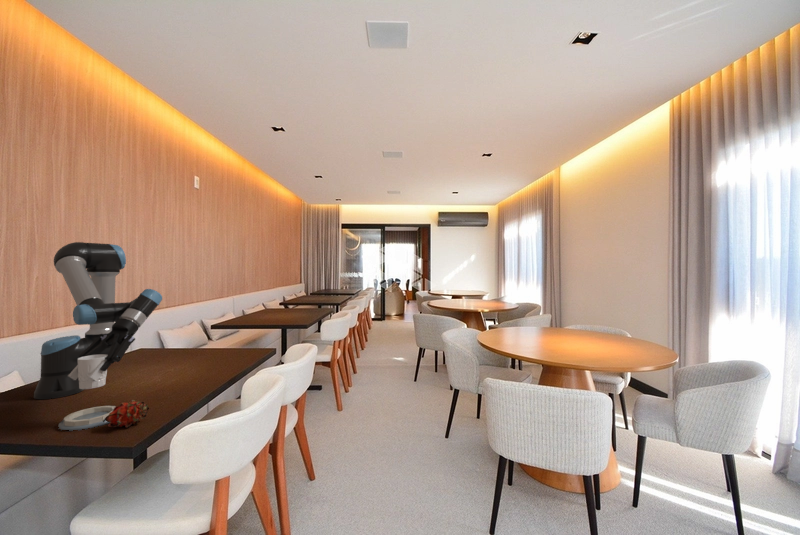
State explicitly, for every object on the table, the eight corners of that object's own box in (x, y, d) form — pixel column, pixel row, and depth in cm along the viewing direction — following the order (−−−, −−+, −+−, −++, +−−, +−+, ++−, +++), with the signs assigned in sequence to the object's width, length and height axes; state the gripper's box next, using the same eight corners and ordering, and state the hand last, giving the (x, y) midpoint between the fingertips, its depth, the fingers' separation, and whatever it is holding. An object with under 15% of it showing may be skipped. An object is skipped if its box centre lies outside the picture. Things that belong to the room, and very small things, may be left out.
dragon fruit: (152, 424, 117) (106, 441, 108) (146, 405, 121) (102, 420, 113) (151, 409, 113) (104, 426, 104) (145, 390, 117) (99, 404, 109)
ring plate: (44, 429, 110) (44, 421, 110) (96, 410, 126) (96, 403, 126) (85, 432, 107) (85, 424, 107) (133, 412, 123) (133, 405, 123)
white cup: (89, 390, 112) (89, 360, 113) (70, 389, 114) (71, 359, 114) (113, 383, 120) (114, 354, 120) (95, 382, 122) (96, 353, 122)
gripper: (158, 329, 131) (115, 385, 114) (113, 328, 134) (65, 382, 118) (145, 317, 126) (99, 374, 109) (99, 316, 129) (47, 371, 113)
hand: (82, 378), depth 114 cm, fingers closed on white cup, 8 cm apart
